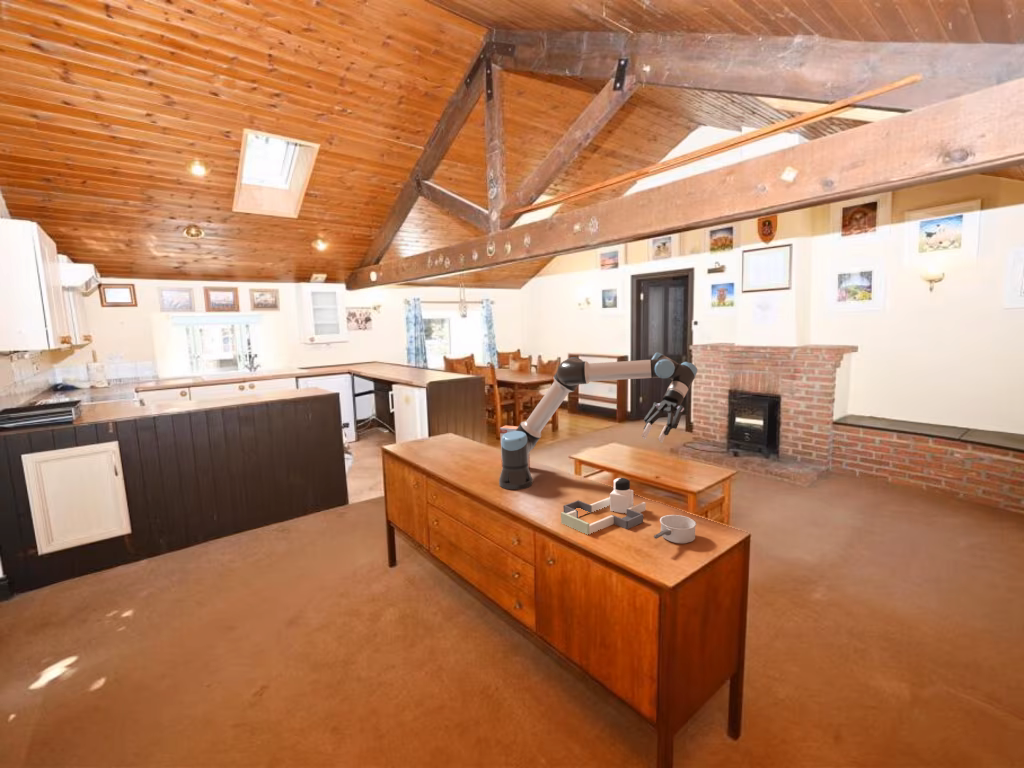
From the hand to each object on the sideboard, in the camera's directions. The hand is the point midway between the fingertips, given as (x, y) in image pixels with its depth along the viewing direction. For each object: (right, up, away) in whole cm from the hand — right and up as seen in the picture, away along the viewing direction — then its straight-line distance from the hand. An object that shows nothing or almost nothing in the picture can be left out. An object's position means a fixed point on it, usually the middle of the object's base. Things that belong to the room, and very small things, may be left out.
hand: (651, 438), depth 185 cm
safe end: (-34, -29, -23) cm, 50 cm away
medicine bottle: (-14, -26, -8) cm, 31 cm away
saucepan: (-4, -30, -35) cm, 46 cm away
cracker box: (-54, -21, +51) cm, 77 cm away
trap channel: (-21, -27, -13) cm, 37 cm away
